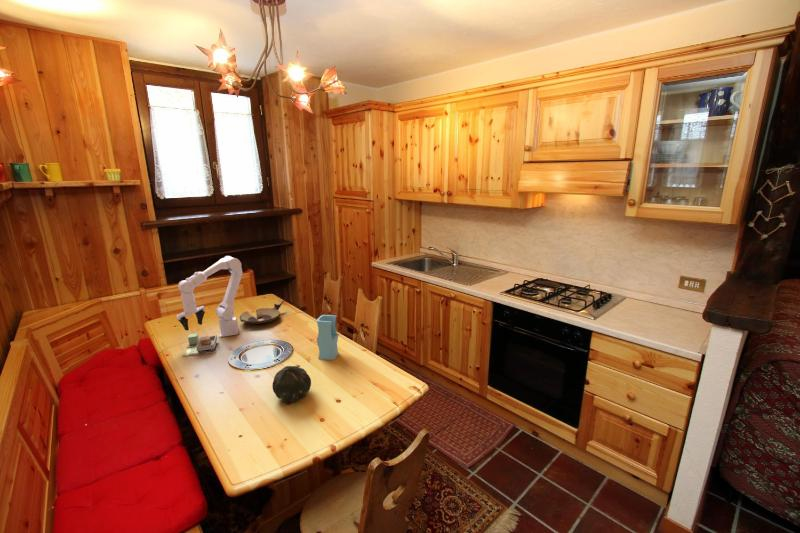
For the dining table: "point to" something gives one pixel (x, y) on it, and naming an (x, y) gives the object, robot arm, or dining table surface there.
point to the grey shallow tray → (206, 347)
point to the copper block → (205, 340)
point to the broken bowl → (262, 314)
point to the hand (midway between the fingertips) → (193, 327)
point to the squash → (291, 383)
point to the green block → (193, 339)
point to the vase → (327, 337)
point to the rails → (195, 351)
